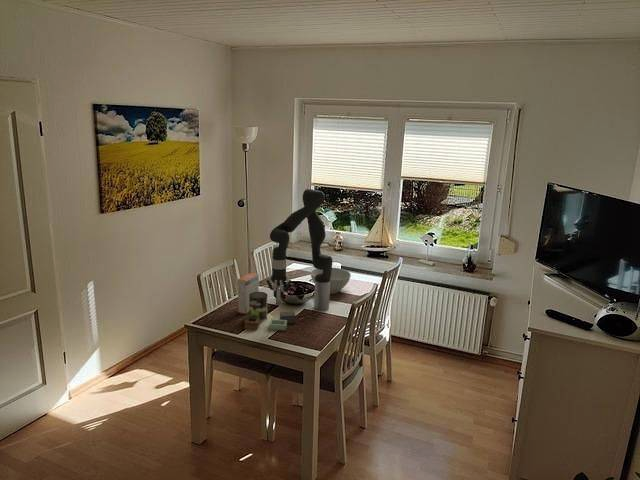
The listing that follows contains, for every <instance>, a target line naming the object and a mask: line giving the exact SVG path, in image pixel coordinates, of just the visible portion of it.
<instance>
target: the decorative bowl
mask: <svg viewBox="0 0 640 480" xmlns="http://www.w3.org/2000/svg"><path fill="white" fill-rule="evenodd" d="M322 273H323V270H320V269H316V268H315V269H313V270H311V271H310V277H311V280H312V282H313V283H314V285H315V276H316V275H317V274H322ZM350 280H351V273H350V272H349V270H346V269H343V268H338V267H332V272H331V278H330V295H332V294H337V293H340V290H343V289H344V288H345V287H346V285H347V284H348V283H349V281H350Z"/></svg>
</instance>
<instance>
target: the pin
mask: <svg viewBox="0 0 640 480" xmlns="http://www.w3.org/2000/svg"><path fill="white" fill-rule="evenodd" d="M275 305H276V306H280V305H282V298H281V287H280V286H279V287H278V286H277V288H276V298H275Z"/></svg>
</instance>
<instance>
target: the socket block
mask: <svg viewBox="0 0 640 480" xmlns="http://www.w3.org/2000/svg"><path fill="white" fill-rule="evenodd" d="M260 325H261V321H260V318H257V317H249V316H247V317H246V319H245V321H244V330H254V331H255V330H256V331H258V329H259V328H260Z"/></svg>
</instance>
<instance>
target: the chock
mask: <svg viewBox="0 0 640 480" xmlns="http://www.w3.org/2000/svg"><path fill="white" fill-rule="evenodd" d="M279 320H287V324H296V313H295V311H294V310H292V311H290V310H289V311H280V312H279Z"/></svg>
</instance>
